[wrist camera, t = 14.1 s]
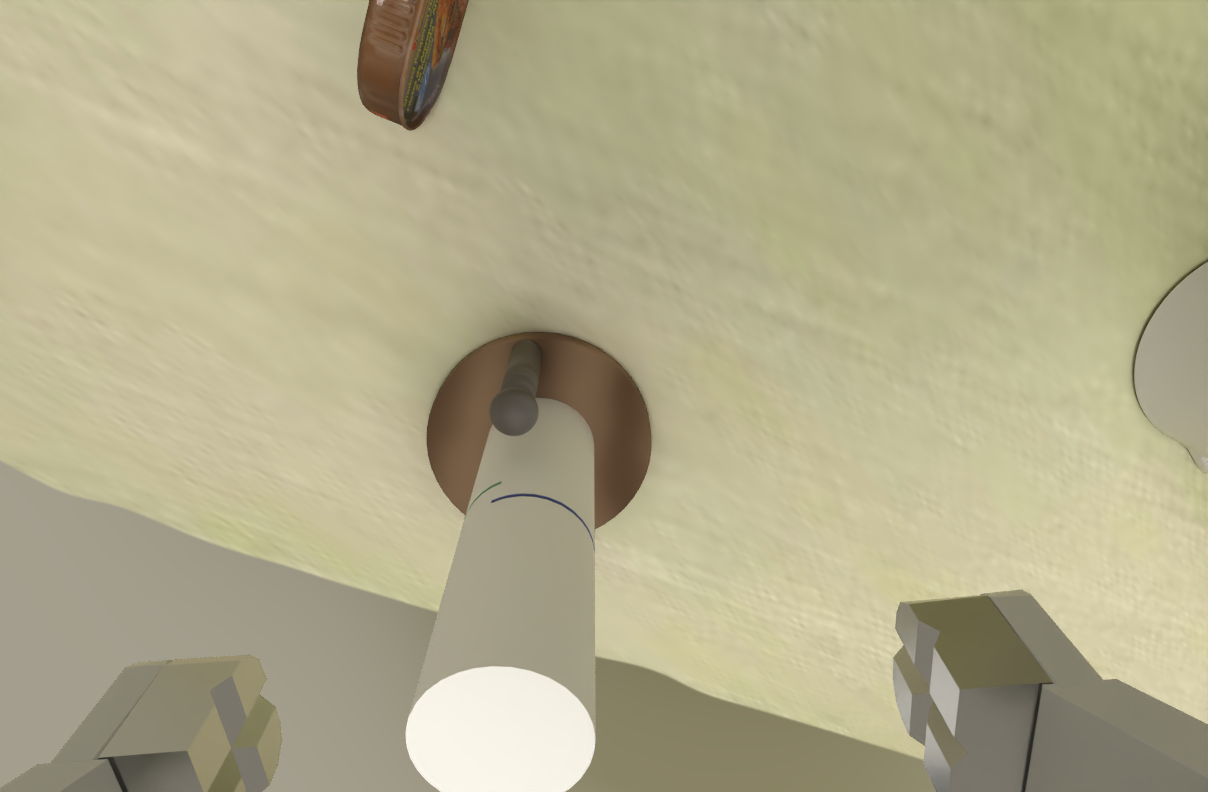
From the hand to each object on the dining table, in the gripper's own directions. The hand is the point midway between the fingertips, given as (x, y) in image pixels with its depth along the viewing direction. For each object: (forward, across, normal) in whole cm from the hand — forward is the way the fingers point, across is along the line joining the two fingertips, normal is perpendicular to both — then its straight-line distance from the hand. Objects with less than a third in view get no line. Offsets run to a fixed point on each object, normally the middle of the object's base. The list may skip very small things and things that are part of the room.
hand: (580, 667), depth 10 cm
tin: (+41, +7, -12) cm, 44 cm away
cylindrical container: (+40, +5, +16) cm, 43 cm away
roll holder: (+41, +5, +16) cm, 44 cm away
